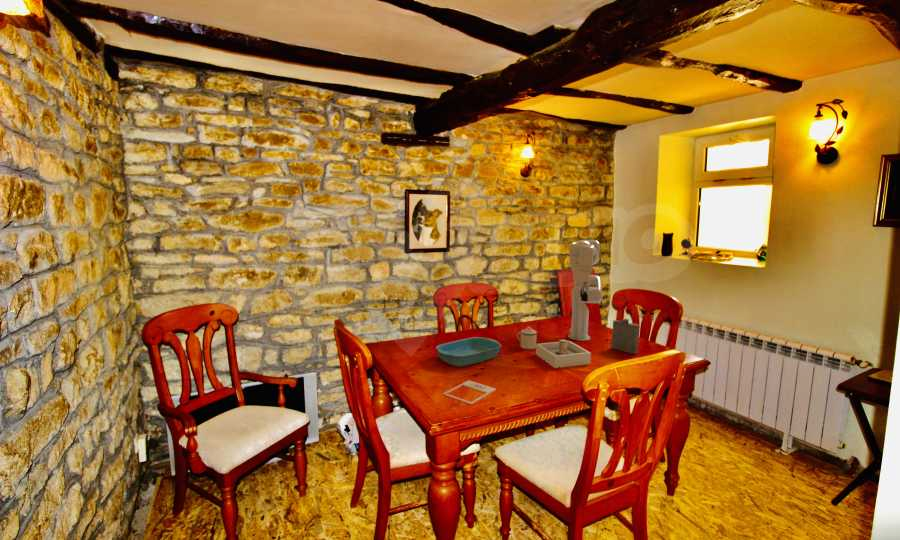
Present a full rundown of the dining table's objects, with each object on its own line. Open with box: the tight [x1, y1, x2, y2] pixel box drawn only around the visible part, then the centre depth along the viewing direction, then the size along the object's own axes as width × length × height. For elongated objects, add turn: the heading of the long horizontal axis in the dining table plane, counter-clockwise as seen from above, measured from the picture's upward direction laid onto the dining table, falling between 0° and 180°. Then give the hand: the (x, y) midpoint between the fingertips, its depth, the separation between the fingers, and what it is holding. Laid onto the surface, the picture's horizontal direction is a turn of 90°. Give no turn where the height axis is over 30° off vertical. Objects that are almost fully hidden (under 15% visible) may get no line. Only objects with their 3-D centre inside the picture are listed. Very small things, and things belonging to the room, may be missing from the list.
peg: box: [558, 339, 568, 355], centre depth 224 cm, size 4×4×10 cm
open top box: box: [535, 340, 592, 369], centre depth 225 cm, size 20×20×6 cm
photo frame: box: [442, 379, 497, 405], centre depth 185 cm, size 15×1×18 cm
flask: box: [611, 318, 640, 355], centre depth 237 cm, size 4×14×18 cm, turn 43°
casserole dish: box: [435, 336, 502, 368], centre depth 226 cm, size 37×22×7 cm, turn 129°
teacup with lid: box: [516, 326, 538, 350], centre depth 244 cm, size 12×9×12 cm
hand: (583, 299), depth 237 cm, fingers open, 9 cm apart
